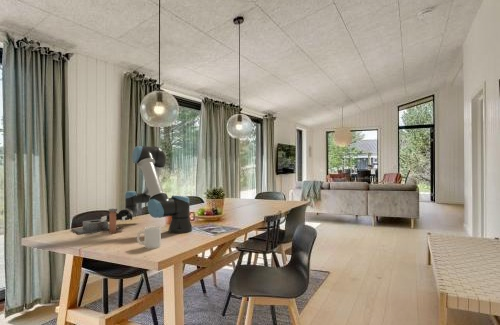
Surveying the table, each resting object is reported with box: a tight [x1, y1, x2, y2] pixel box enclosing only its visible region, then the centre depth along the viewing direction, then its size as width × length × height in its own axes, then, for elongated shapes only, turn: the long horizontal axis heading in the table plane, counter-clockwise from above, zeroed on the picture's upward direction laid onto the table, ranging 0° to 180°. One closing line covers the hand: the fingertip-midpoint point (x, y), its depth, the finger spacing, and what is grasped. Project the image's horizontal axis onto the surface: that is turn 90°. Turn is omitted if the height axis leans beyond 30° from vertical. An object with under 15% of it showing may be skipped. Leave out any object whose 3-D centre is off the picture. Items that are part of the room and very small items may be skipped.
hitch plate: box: [70, 218, 119, 236], centre depth 217 cm, size 24×18×6 cm
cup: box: [136, 225, 162, 250], centre depth 171 cm, size 8×12×10 cm
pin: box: [108, 208, 118, 234], centre depth 208 cm, size 5×5×15 cm
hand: (111, 219), depth 208 cm, fingers open, 13 cm apart
